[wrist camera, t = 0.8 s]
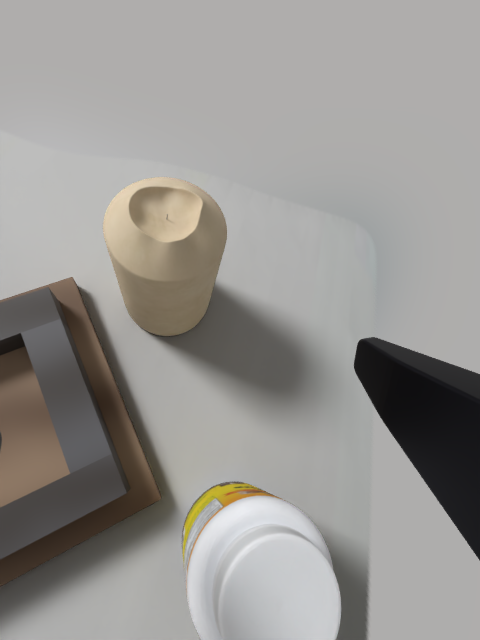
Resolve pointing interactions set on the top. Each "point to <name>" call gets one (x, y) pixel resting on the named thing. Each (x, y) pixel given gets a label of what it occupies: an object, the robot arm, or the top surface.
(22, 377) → the socket
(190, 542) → the supplement bottle
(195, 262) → the candle
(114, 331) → the top surface
